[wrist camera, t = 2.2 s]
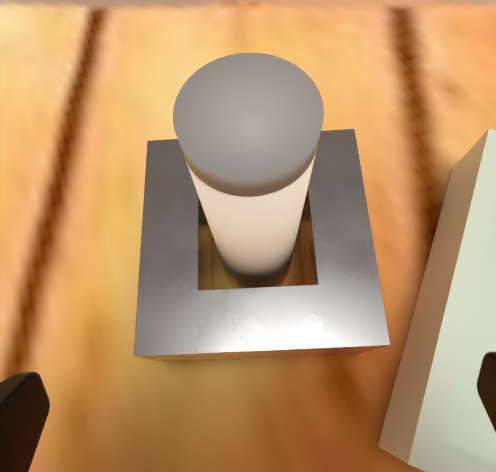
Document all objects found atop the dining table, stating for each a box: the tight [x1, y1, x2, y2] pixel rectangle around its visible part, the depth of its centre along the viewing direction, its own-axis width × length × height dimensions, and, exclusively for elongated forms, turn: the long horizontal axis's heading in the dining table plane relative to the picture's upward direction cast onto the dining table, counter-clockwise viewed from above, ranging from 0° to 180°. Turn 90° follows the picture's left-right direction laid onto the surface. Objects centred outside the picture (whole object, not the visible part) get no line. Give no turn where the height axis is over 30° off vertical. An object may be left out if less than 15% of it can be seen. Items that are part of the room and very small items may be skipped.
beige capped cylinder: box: [173, 53, 324, 289], centre depth 15 cm, size 4×4×13 cm
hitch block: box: [134, 129, 390, 362], centre depth 19 cm, size 10×10×5 cm
